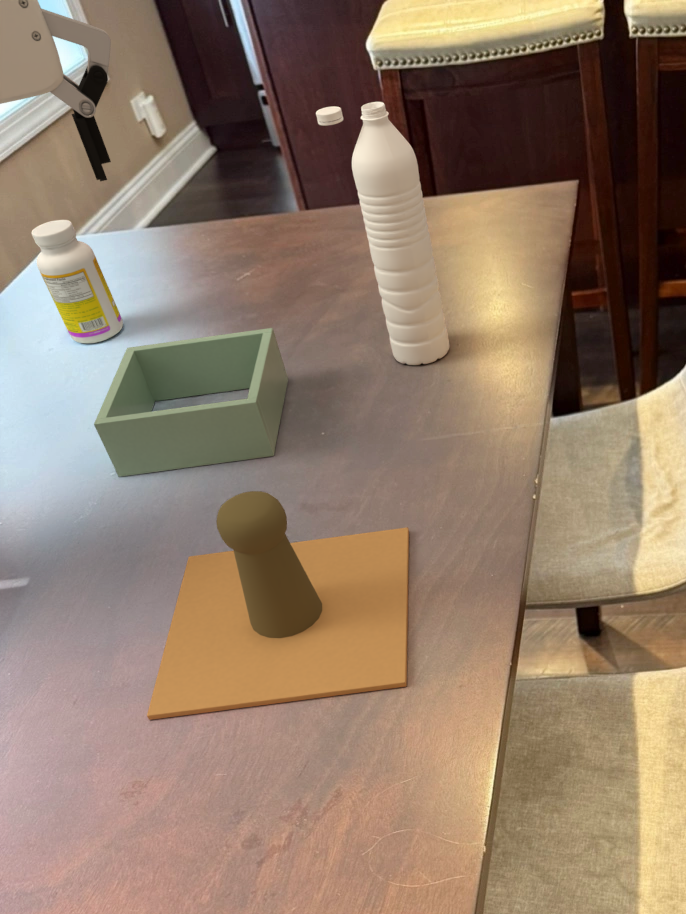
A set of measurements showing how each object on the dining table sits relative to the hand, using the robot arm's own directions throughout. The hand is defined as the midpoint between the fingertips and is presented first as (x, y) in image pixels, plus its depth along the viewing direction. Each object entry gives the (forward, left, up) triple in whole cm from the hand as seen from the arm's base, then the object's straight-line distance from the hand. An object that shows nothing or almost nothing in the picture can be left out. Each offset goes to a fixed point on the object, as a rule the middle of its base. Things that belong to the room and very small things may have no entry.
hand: (33, 191), depth 73 cm
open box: (0, +19, -30) cm, 35 cm away
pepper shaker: (+12, -15, -30) cm, 35 cm away
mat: (+12, -15, -30) cm, 35 cm away
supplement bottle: (-18, +46, -30) cm, 58 cm away
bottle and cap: (+22, +29, -30) cm, 47 cm away
